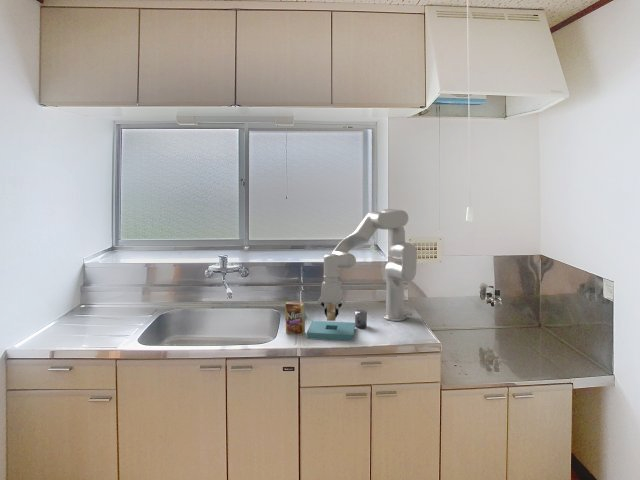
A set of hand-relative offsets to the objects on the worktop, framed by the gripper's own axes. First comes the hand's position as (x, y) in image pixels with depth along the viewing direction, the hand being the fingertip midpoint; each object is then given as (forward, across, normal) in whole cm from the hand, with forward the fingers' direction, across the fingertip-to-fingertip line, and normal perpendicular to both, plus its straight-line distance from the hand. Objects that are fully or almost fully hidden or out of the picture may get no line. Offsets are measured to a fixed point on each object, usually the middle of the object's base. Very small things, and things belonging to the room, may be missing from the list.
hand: (331, 315), depth 186 cm
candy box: (+9, +18, +2) cm, 20 cm away
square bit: (+2, 0, 0) cm, 2 cm away
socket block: (+9, 0, 0) cm, 9 cm away
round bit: (+9, -14, -11) cm, 20 cm away
